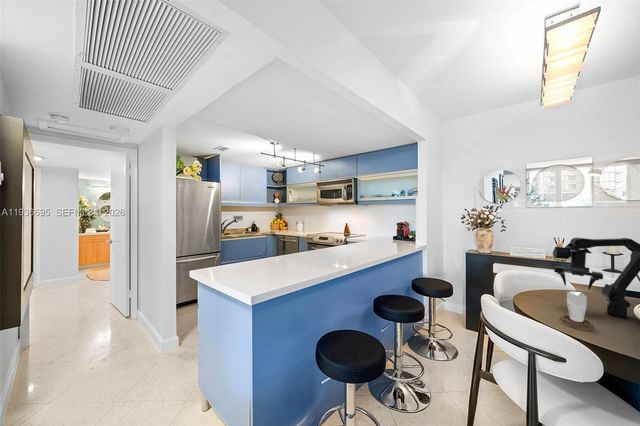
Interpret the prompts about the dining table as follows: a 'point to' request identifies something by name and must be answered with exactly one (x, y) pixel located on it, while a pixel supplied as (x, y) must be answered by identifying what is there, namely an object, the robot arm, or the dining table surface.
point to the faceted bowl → (586, 326)
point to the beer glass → (576, 306)
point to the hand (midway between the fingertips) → (576, 287)
